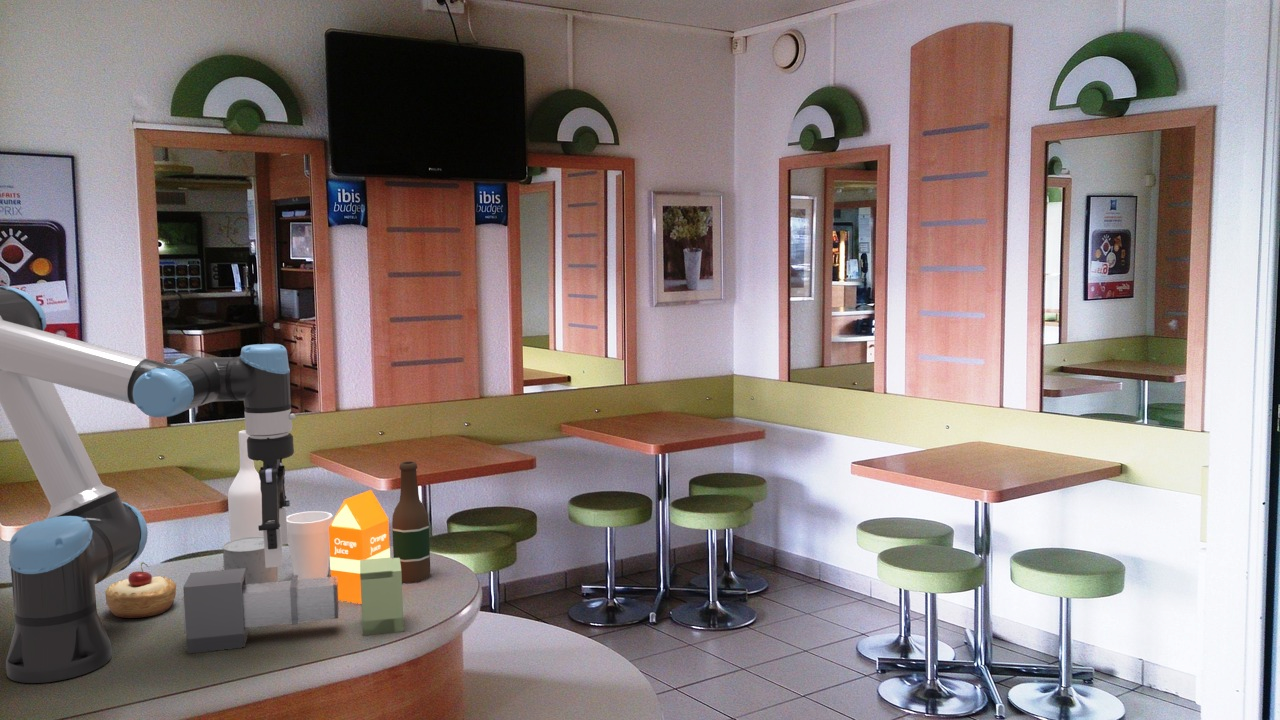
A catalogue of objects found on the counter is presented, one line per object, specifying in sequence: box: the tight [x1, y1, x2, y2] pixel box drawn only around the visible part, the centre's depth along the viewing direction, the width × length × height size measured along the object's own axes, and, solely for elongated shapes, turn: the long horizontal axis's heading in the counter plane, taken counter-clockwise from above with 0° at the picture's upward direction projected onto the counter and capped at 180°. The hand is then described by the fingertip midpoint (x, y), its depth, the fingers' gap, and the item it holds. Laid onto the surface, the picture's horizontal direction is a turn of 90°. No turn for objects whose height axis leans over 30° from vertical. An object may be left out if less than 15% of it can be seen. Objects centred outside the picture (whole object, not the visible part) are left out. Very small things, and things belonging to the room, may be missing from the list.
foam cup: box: [286, 510, 334, 580], centre depth 213 cm, size 10×9×13 cm
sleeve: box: [182, 568, 250, 655], centre depth 180 cm, size 9×8×12 cm
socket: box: [360, 556, 405, 636], centre depth 187 cm, size 7×8×11 cm
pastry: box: [104, 561, 177, 619], centre depth 196 cm, size 12×12×9 cm
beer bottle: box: [391, 460, 431, 584], centre depth 213 cm, size 8×8×24 cm
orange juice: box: [329, 489, 391, 605], centre depth 203 cm, size 8×9×20 cm
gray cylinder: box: [221, 537, 279, 584], centre depth 197 cm, size 10×10×12 cm
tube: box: [181, 574, 340, 635], centre depth 182 cm, size 25×7×7 cm, turn 105°
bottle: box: [227, 429, 264, 542], centre depth 217 cm, size 8×8×30 cm
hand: (277, 555), depth 182 cm, fingers open, 13 cm apart
